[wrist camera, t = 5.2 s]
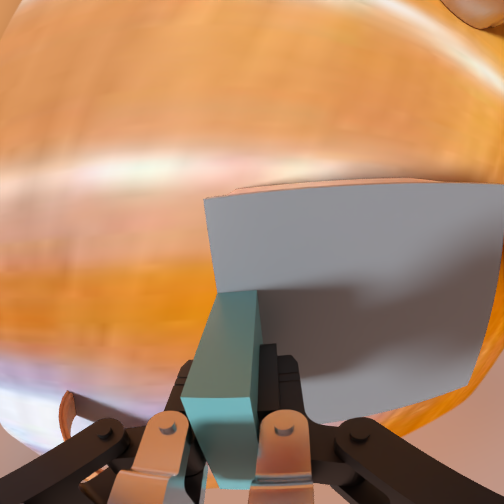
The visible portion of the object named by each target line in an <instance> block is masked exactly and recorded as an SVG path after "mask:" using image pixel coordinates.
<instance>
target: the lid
mask: <svg viewBox="0 0 504 504" xmlns="http://www.w3.org/2000/svg"><path fill="white" fill-rule="evenodd" d="M203 200H204V207H205V215H206V222H207V229H208V235H209V242H210V249H211V255H212V262H213V268H214V274H215V280H216V286H217V292H218V294H217V296H216V299H215V302H214V304H213V307H212V310H211V312H210V315H209V318H208V321H207V323H206V326H205V329H204V332H203V334H202V337H201V340H200V343H199V346H198V348H197V351H196V354H195V357H194V359H193V362H192V365H191V368H190V371H189V374H188V376H187V379H186V382H185V385H184V388H183V391H182V393H181V396H180V398H181V401H182V403H183V406H184V409H185V411H186V414H187V416H188V419H189V421H190V424H191V426H192V429H193V431H194V433H195V436H196V438H197V440H198V443H199V445H200V447H201V450H202V452H203V454H204V456H205V458H206V461H207V463H208V465H209V467H210V469H211V471H212V473H213V475H214V477H215V479H216V481H217V483H218V485H219V487H220V489H250V486H251V482H252V480H254V479H255V473H256V463H257V454H258V444H259V434H260V425H259V419H258V413H257V404H258V377H259V349H260V344H273V343H276V344H277V355H278V356H281V355H292V356H293V357H294V358H295V360H296V361H297V362H298V367H299V374H300V381H301V388H302V395H303V402H304V409H305V413H306V415H307V416H308V417H309V418H310V419H311V420H312V421H314V422H315V423H318V424H324V423H331V422H337V421H343V420H349V419H352V418H357V417H364V416H369V415H373V414H378V413H382V412H386V411H390V410H394V409H398V408H401V407H405V406H408V405H412V404H415V403H419V402H422V401H425V400H428V399H431V398H434V397H437V396H440V395H443V394H446V393H448V392H451V391H454V390H456V389H459V388H461V387H464V386H466V385H468V382H469V380H470V377H471V375H472V372H473V370H474V367H475V364H476V361H477V358H478V355H479V353H480V349H481V346H482V343H483V340H484V337H485V333H486V330H487V326H488V322H489V319H490V315H491V310H492V306H493V302H494V297H495V292H496V287H497V282H498V276H499V270H500V263H501V256H502V247H503V237H504V185H503V184H497V183H475V182H391V183H364V184H344V185H328V186H313V187H300V188H289V189H278V190H267V191H257V192H248V193H239V194H230V195H222V196H214V197H207V198H205V199H203Z"/></svg>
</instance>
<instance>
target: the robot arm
mask: <svg viewBox="0 0 504 504" xmlns="http://www.w3.org/2000/svg"><path fill="white" fill-rule="evenodd" d="M441 1H442V2H443V3H444V5H445V6H446V7H447V8H448V9H449V10H450V11H451V12H453V13H454V14H455V15H456V16H457V17H459V18H460V19H461V20H463V21H464V22H465V23H467V24H469V25H471V26H473V27H475V28H478V29H486V28H488V27H490V26H491V27H493V28H494V27H497V26H499V25H501V24H503V23H504V0H441ZM192 362H193V360H188V361H187V362H186V363H185V364H184V365H183V366H182V367H181V369H180V371H179V374H178V376H177V379H176V381H175V386H173V389H172V391H171V394H170V397H169V399H168V402H167V404H166V407H165V409H164V411H163V412H160V413H158V414H156V415H154V416H153V417H152V418H151V419H150V420H149V421H148V423H147V426H142V427H135V428H126V429H124V427H123V425H122V424H121V423H120V422H119V421H118V420H116V419H112V418H105V419H101V420H98V421H96V422H95V423H93V424H92V425H90V426H88V427H87V428H85V429H84V430H82V431H81V432H79V433H77V434H76V435H74V436H73V437H71V438H69V439H68V440H66V441H65V442H63V443H61V444H60V445H58V446H56V447H55V448H53V449H51V450H50V451H48V452H46V453H45V454H43V455H41V456H40V457H38V458H36V459H34V460H33V461H31V462H29V463H28V464H26V465H24V466H22V467H21V468H19V469H17V470H15V471H13V472H11V473H10V474H8V475H6V476H4V477H2V478H0V504H204V498H205V490H206V481H207V473H208V465H207V462H206V458H205V456H204V454H203V452H202V450H201V447H200V445H199V443H198V440H197V438H196V436H195V433H194V431H193V429H192V426H191V424H190V421H189V419H188V416H187V414H186V411H185V409H184V406H183V403H182V401H181V398H180V396H181V393H182V391H183V388H184V385H185V382H186V379H187V376H188V374H189V371H190V368H191V365H192ZM257 413H258V419H259V425H260V434H259V444H258V454H257V463H256V473H255V479H254V480H252V482H251V486H250V491H249V500H248V504H314V489H313V483H320V484H328V485H330V486H331V487H332V488H333V489H334V490H335V491H336V492H337V493H338V494H340V495H341V496H342V497H343V498H344V499H345V500H347V501H348V502H349V503H350V504H504V496H501V495H499V494H497V493H495V492H493V491H491V490H489V489H487V488H486V487H484V486H482V485H480V484H478V483H476V482H474V481H472V480H471V479H469V478H467V477H465V476H463V475H461V474H459V473H458V472H456V471H454V470H453V469H451V468H449V467H447V466H446V465H444V464H442V463H441V462H439V461H437V460H435V459H434V458H432V457H431V456H429V455H427V454H426V453H424V452H423V451H421V450H419V449H418V448H416V447H415V446H413V445H411V444H410V443H408V442H407V441H405V440H404V439H402V438H400V437H399V436H397V435H396V434H394V433H393V432H391V431H390V430H388V429H387V428H385V427H384V426H382V425H381V424H379V423H378V422H376V421H375V420H373V419H370V418H366V417H357V418H352V419H349V420H347V421H345V422H343V423H342V424H341V425H340V426H339V427H334V426H325V425H321V424H318V423H315V422H314V421H312V420H311V419H310V418H309V417H308V416H307V415H306V413H305V409H304V402H303V395H302V388H301V381H300V374H299V367H298V362H297V361H296V360H295V358H294V357H293V356H292V355H281V356H278V355H277V344H276V343H273V344H260V349H259V377H258V404H257ZM106 464H107V465H108V466H109V467H108V468H107V469H105V470H104V471H102V472H101V473H99V474H98V475H97V476H95V477H94V478H92V479H91V480H89V481H87V482H85V483H80V482H81V481H82V480H84V479H85V478H87V477H89V476H90V475H92V474H93V473H94V472H96V471H97V470H99V469H100V468H102V467H103V466H105V465H106Z"/></svg>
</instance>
